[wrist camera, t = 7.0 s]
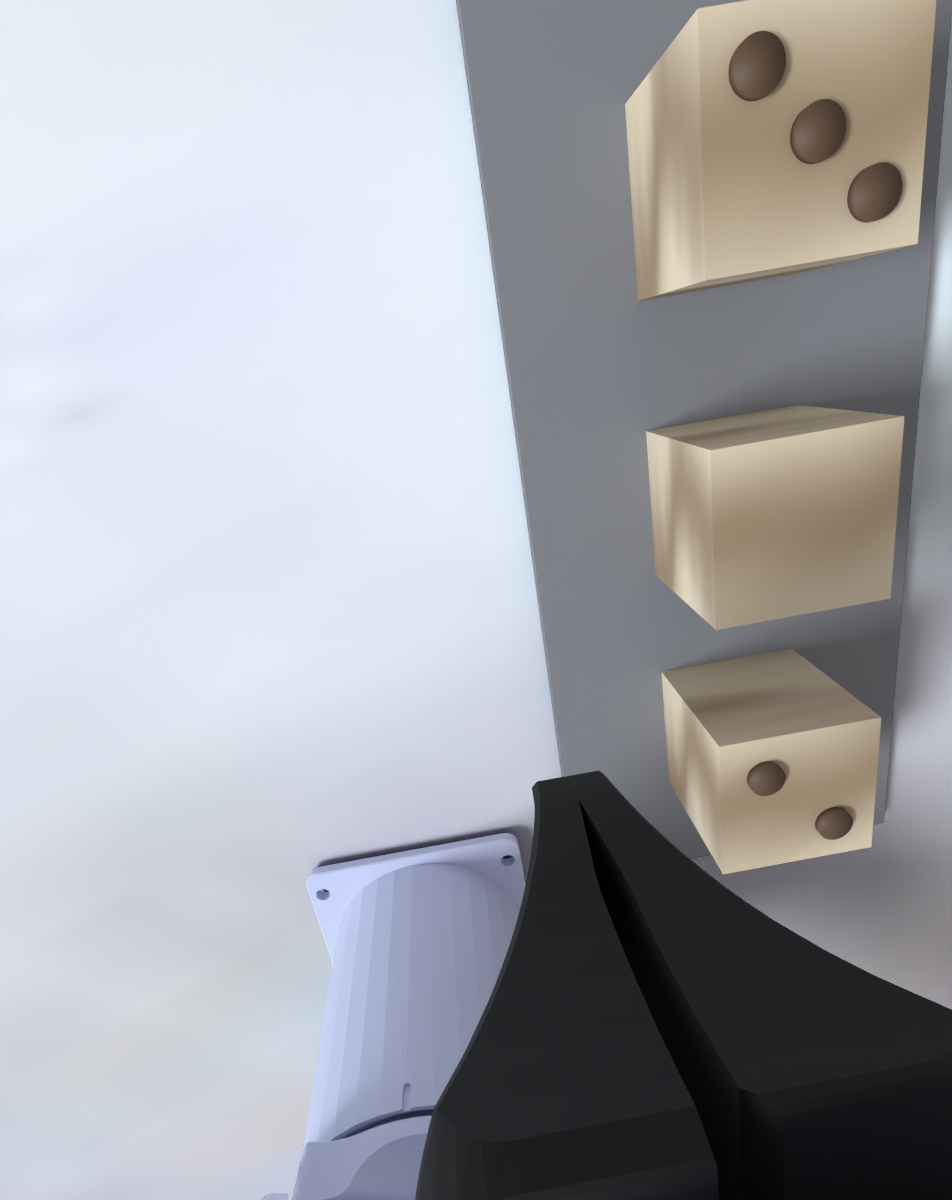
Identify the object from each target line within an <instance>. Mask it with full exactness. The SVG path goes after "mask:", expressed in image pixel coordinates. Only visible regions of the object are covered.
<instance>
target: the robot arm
mask: <svg viewBox="0 0 952 1200" xmlns="http://www.w3.org/2000/svg"><path fill="white" fill-rule="evenodd" d="M532 791H533V797H534V804H535V821H534V835H533V843H532V851H531V859H530V865H529V870H528V875H527V880H526V884H525V878H524V872H523V866H522V861H521V855H520V849H519V844H518V840H517V838H516V837H515V836H514V835H513V834H510V833H501V834H496V835H490V836H485V837H479V838H474V839H468V840H463V841H457V842H452V843H447V844H441V845H436V846H430V847H425V848H419V849H414V850H408V851H403V852H398V853H392V854H387V855H381V856H376V857H370V858H365V859H359V860H354V861H349V862H343V863H338V864H332V865H327V866H321V867H317V868H314V869H312V870H311V871H310V872H309V874H308V877H307V882H306V883H307V888H308V891H309V894H310V897H311V900H312V903H313V906H314V909H315V912H316V915H317V918H318V921H319V924H320V927H321V930H322V933H323V936H324V939H325V942H326V945H327V948H328V951H329V954H330V957H331V960H332V969H331V975H330V982H329V988H328V994H327V1001H326V1007H325V1013H324V1020H323V1026H322V1033H321V1039H320V1045H319V1052H318V1058H317V1064H316V1071H315V1077H314V1084H313V1090H312V1096H311V1103H310V1109H309V1115H308V1122H307V1128H306V1135H305V1141H304V1147H303V1153H302V1157H301V1162H300V1166H299V1170H298V1175H297V1179H296V1184H295V1188H294V1193H293V1197H292V1200H952V1010H951V1009H949V1008H946V1007H944V1006H942V1005H940V1004H937V1003H935V1002H933V1001H931V1000H928V999H926V998H924V997H921V996H919V995H917V994H915V993H912V992H910V991H908V990H906V989H903V988H901V987H899V986H896V985H894V984H892V983H890V982H887V981H885V980H883V979H881V978H878V977H876V976H874V975H872V974H870V973H868V972H866V971H864V970H862V969H860V968H858V967H856V966H854V965H852V964H850V963H848V962H847V961H845V960H843V959H841V958H839V957H837V956H835V955H833V954H831V953H829V952H827V951H825V950H824V949H822V948H820V947H818V946H817V945H815V944H813V943H811V942H810V941H808V940H806V939H805V938H803V937H801V936H799V935H798V934H796V933H794V932H793V931H791V930H789V929H788V928H786V927H784V926H782V925H781V924H779V923H777V922H776V921H774V920H772V919H771V918H769V917H768V916H766V915H765V914H763V913H762V912H760V911H759V910H757V909H756V908H754V907H753V906H751V905H750V904H748V903H747V902H745V901H744V900H743V899H741V898H740V897H738V896H737V895H736V894H734V893H733V892H731V891H730V890H729V889H727V888H726V887H724V886H723V885H722V884H720V883H719V882H718V881H717V880H715V879H714V878H713V877H711V876H710V875H709V874H708V873H706V872H705V871H704V870H702V869H701V868H700V867H699V866H698V865H696V864H695V863H694V862H693V861H692V860H690V859H689V858H688V857H687V856H686V855H684V854H683V853H682V852H681V851H680V850H679V849H678V848H676V847H675V846H674V845H673V844H672V843H671V842H670V841H669V840H667V839H666V838H665V837H664V836H663V835H662V834H661V833H660V832H659V831H658V830H657V829H656V828H655V827H654V826H652V825H651V824H650V823H649V822H648V821H647V820H646V819H645V818H644V817H643V816H642V815H641V814H640V813H639V812H638V811H637V810H636V809H635V808H634V807H633V806H632V805H631V804H630V803H629V801H628V800H627V799H626V798H625V797H624V796H623V795H622V794H621V793H620V792H619V791H618V790H617V788H616V787H615V786H614V785H613V784H612V783H611V781H610V780H609V779H608V778H607V777H606V775H605V774H603V773H602V772H600V771H599V770H598V771H593V772H587V773H582V774H577V775H571V776H566V777H560V778H555V779H549V780H544V781H538V782H536V784H535V785H534V786H533V787H532ZM506 855H511V856H512V857H510V858H508V859H504V858H503V857H504V856H506ZM321 889H326V890H328V892H322V891H320V890H321ZM262 1200H288V1194H277V1193H270V1194H266V1195H265V1196H264V1197H263V1198H262Z"/></svg>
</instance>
